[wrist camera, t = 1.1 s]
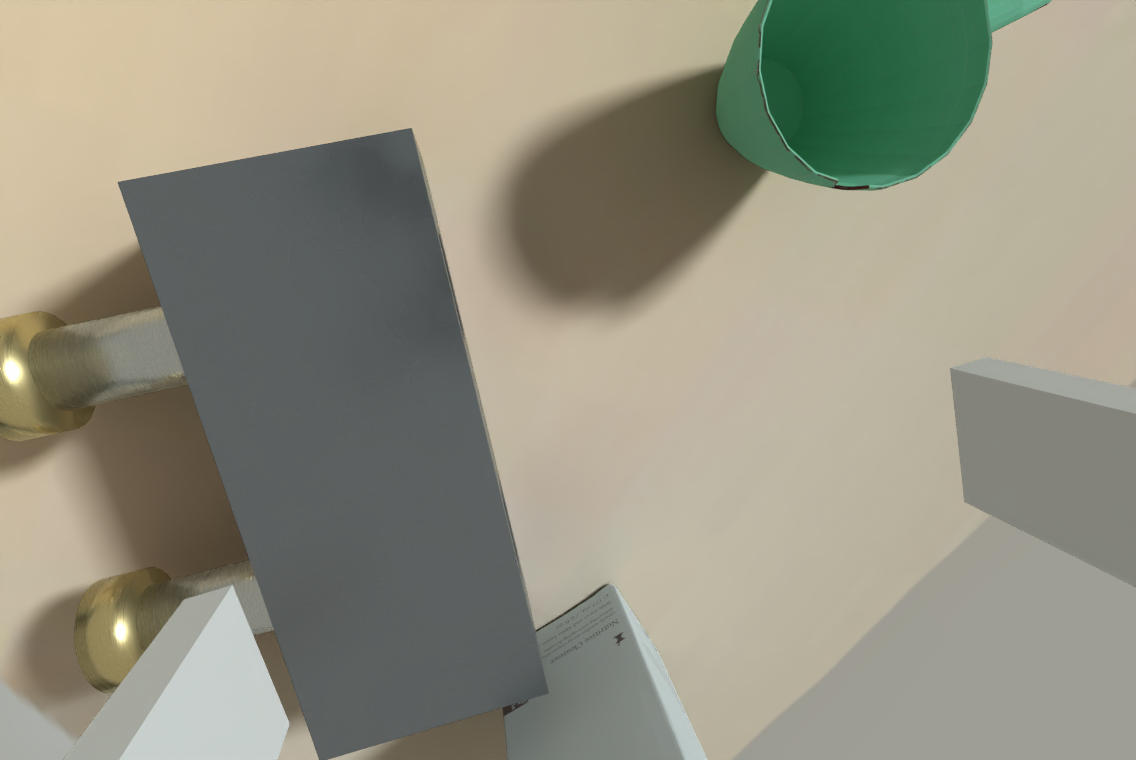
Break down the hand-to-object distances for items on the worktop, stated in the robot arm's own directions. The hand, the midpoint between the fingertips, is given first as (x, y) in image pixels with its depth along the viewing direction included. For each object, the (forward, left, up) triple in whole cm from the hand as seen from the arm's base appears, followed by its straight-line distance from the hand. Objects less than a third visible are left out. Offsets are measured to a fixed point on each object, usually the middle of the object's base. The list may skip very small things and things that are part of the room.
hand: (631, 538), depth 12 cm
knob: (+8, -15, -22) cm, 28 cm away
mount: (+2, -7, -24) cm, 25 cm away
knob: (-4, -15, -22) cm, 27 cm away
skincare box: (+19, 0, -24) cm, 31 cm away
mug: (-10, +18, -24) cm, 31 cm away
